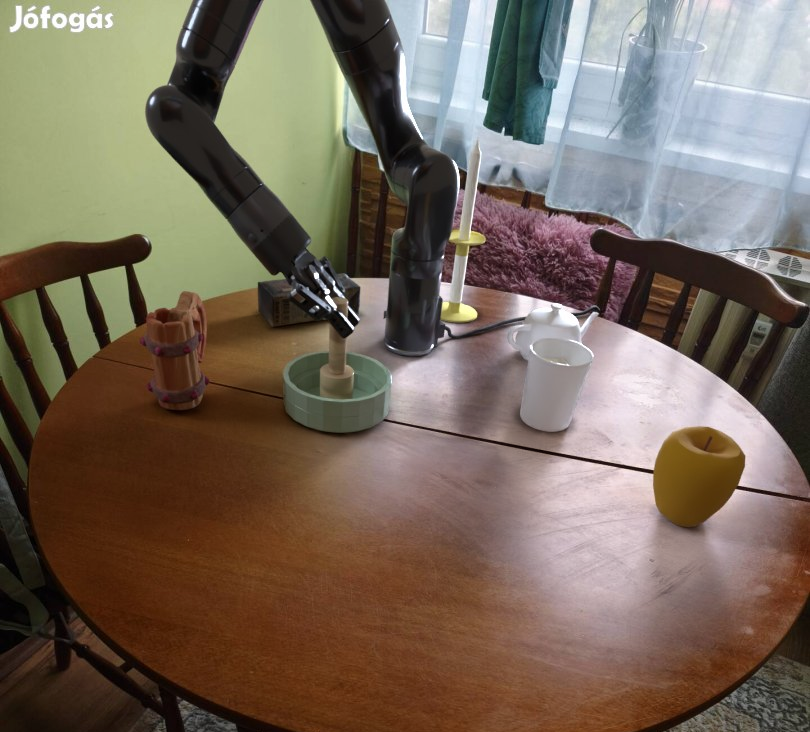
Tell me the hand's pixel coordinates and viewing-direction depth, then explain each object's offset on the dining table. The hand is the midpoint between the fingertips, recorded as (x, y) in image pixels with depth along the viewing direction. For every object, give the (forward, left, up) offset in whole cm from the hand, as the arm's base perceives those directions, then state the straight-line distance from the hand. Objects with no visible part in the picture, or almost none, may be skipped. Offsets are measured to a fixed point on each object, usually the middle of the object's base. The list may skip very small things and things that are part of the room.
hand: (352, 329), depth 102 cm
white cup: (-28, +17, -14) cm, 35 cm away
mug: (+20, -15, -14) cm, 29 cm away
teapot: (-45, 0, -14) cm, 47 cm away
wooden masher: (+1, -1, -12) cm, 12 cm away
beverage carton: (-13, -35, -14) cm, 40 cm away
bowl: (+1, -1, -14) cm, 14 cm away
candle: (-41, -24, -14) cm, 49 cm away
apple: (-27, +45, -14) cm, 54 cm away
